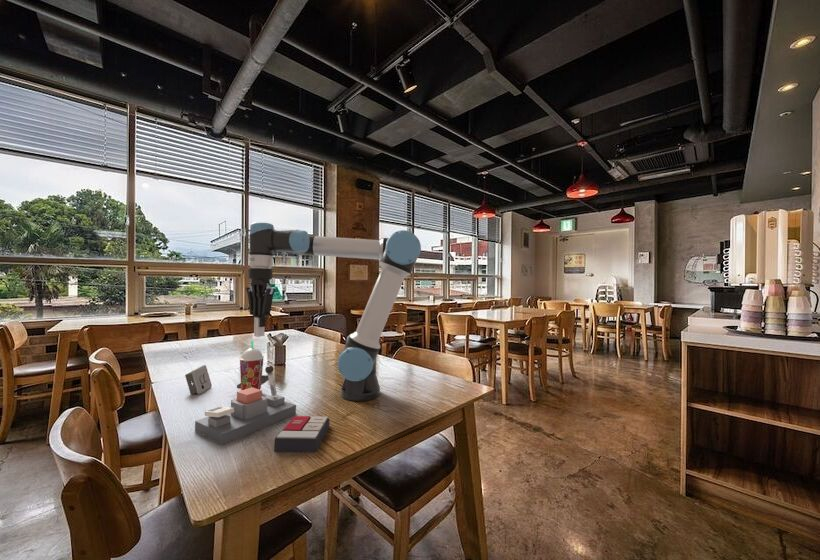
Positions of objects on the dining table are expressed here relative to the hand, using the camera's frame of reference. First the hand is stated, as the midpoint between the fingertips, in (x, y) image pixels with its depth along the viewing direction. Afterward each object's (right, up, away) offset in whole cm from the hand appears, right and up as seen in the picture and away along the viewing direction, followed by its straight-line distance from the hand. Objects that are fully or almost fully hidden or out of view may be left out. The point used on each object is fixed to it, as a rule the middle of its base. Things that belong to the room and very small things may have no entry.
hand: (259, 335), depth 113 cm
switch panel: (+3, -25, -12) cm, 28 cm away
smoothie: (-9, -24, +13) cm, 29 cm away
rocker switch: (-2, -19, -20) cm, 28 cm away
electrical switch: (-30, -24, +13) cm, 40 cm away
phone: (-14, -25, +26) cm, 38 cm away
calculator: (+22, -26, -21) cm, 40 cm away
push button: (+3, -19, -12) cm, 23 cm away
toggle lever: (+7, -19, -5) cm, 21 cm away
